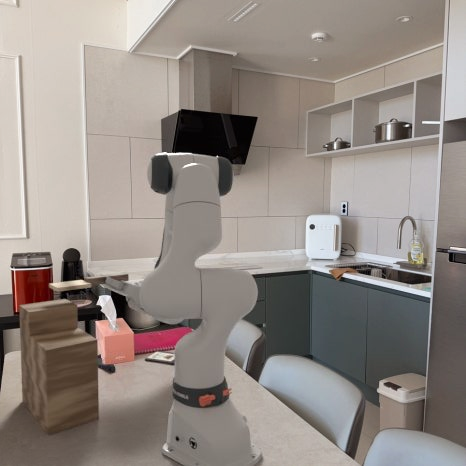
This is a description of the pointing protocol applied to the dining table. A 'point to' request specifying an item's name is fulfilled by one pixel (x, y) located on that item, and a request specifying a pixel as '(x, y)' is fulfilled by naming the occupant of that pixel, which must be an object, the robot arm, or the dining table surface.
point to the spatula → (86, 282)
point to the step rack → (58, 366)
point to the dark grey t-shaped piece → (105, 365)
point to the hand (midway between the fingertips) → (102, 278)
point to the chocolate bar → (162, 357)
